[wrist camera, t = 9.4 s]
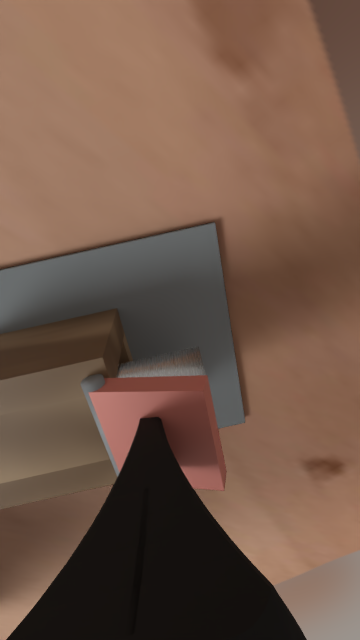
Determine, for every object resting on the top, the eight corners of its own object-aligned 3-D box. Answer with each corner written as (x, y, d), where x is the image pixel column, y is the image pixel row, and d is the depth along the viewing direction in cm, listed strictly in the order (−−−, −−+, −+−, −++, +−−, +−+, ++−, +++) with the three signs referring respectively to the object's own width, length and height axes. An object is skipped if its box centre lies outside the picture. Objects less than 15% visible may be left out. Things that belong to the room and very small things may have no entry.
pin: (203, 380, 17) (218, 433, 13) (-2, 426, 17) (-44, 491, 13) (190, 314, 15) (202, 353, 12) (-36, 365, 15) (-95, 419, 12)
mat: (243, 418, 19) (245, 422, 19) (-53, 484, 19) (-57, 489, 19) (213, 222, 15) (215, 223, 14) (-179, 309, 15) (-187, 312, 14)
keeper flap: (227, 475, 12) (224, 494, 11) (123, 467, 13) (115, 485, 12) (206, 370, 10) (201, 385, 9) (87, 374, 11) (76, 387, 10)
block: (146, 403, 18) (144, 477, 13) (27, 429, 18) (-17, 513, 13) (116, 308, 15) (102, 357, 11) (-20, 338, 15) (-93, 401, 11)
